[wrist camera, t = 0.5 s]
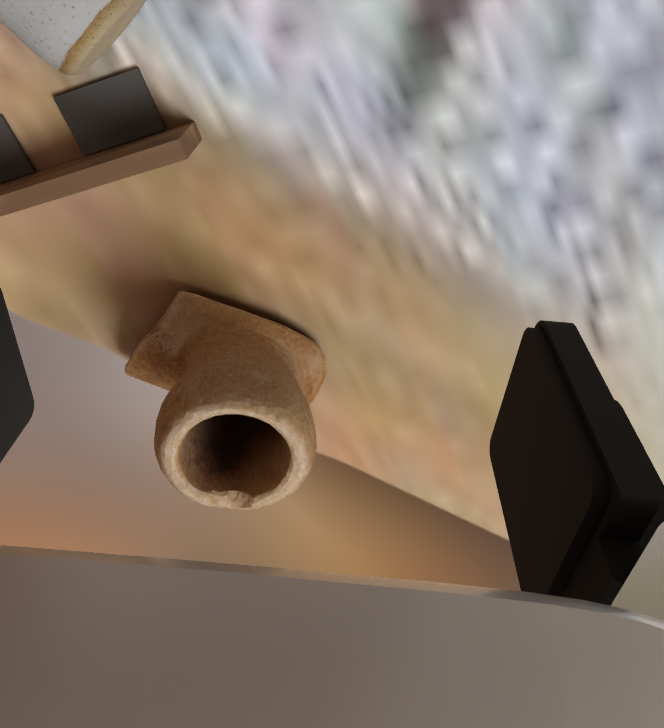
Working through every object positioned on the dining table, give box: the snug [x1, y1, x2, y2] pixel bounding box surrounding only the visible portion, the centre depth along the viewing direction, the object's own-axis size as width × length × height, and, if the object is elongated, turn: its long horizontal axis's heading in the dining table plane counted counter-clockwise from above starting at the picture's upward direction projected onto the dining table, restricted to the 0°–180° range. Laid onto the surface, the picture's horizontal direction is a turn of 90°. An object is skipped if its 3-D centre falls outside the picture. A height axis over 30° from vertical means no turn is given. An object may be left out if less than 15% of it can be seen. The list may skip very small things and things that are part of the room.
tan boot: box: [125, 291, 326, 510], centre depth 43 cm, size 15×12×15 cm
